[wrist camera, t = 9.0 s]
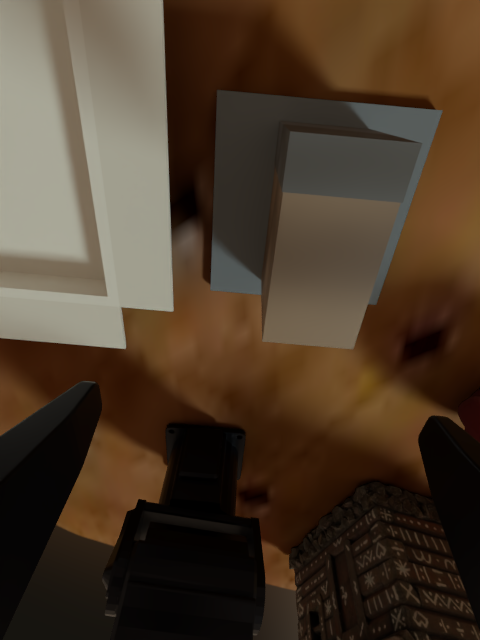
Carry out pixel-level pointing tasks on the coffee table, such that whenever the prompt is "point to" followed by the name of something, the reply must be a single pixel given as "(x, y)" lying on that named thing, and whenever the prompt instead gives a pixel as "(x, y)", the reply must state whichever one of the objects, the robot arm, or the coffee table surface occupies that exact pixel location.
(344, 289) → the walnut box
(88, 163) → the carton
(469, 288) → the coffee table surface
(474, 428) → the mug
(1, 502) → the robot arm
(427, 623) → the model building
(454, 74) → the coffee table surface
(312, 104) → the slate mat
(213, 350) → the coffee table surface
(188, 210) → the coffee table surface
